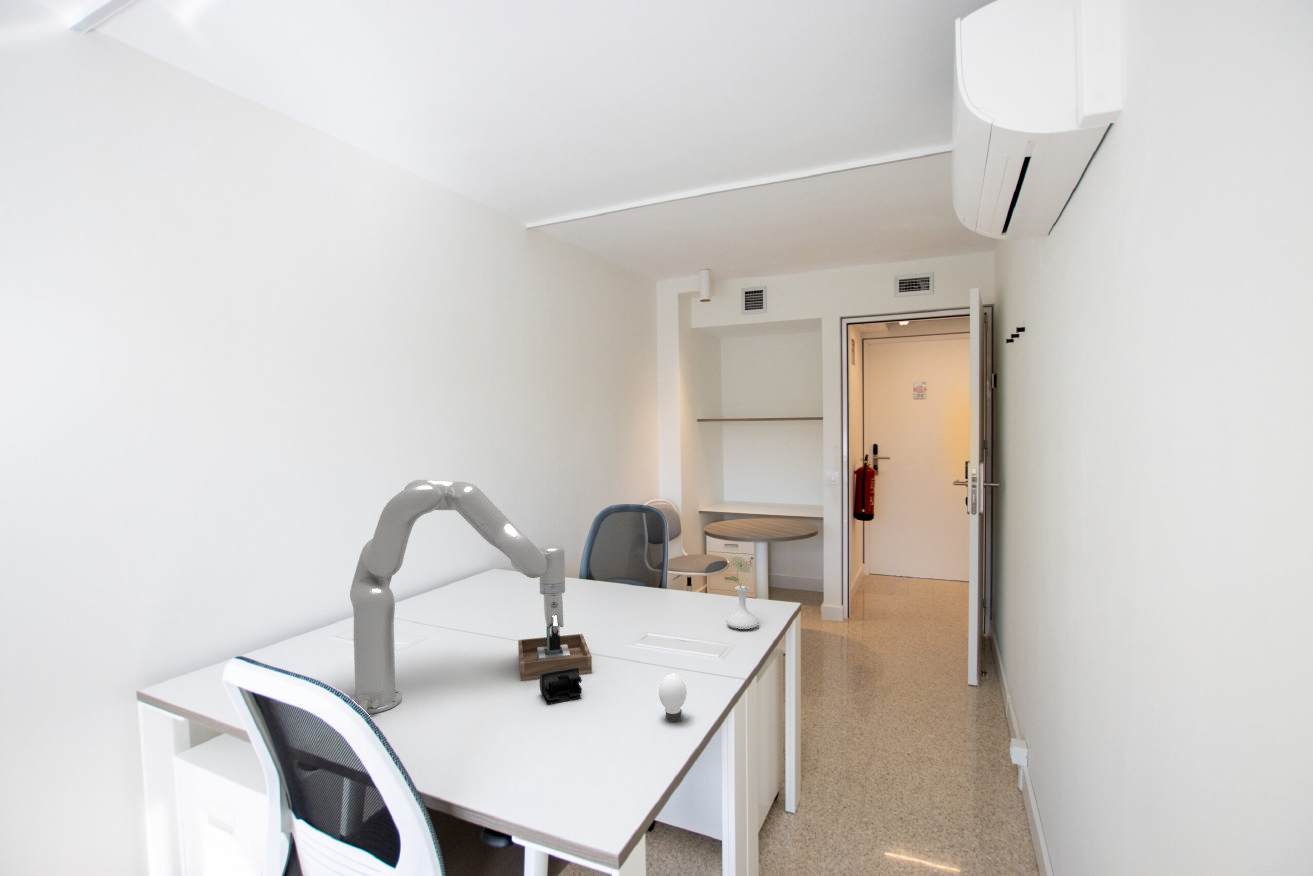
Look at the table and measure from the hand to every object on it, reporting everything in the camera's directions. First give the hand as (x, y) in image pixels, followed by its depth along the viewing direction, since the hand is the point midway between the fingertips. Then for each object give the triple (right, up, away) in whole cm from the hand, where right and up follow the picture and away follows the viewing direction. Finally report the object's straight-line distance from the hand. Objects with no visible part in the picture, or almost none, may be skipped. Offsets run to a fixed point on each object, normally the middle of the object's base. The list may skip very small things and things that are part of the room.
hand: (553, 644), depth 188 cm
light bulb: (+35, -7, -35) cm, 50 cm away
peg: (0, -5, 0) cm, 5 cm away
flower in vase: (+61, -5, +33) cm, 69 cm away
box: (0, -6, 0) cm, 6 cm away
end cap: (+6, -7, -22) cm, 24 cm away
